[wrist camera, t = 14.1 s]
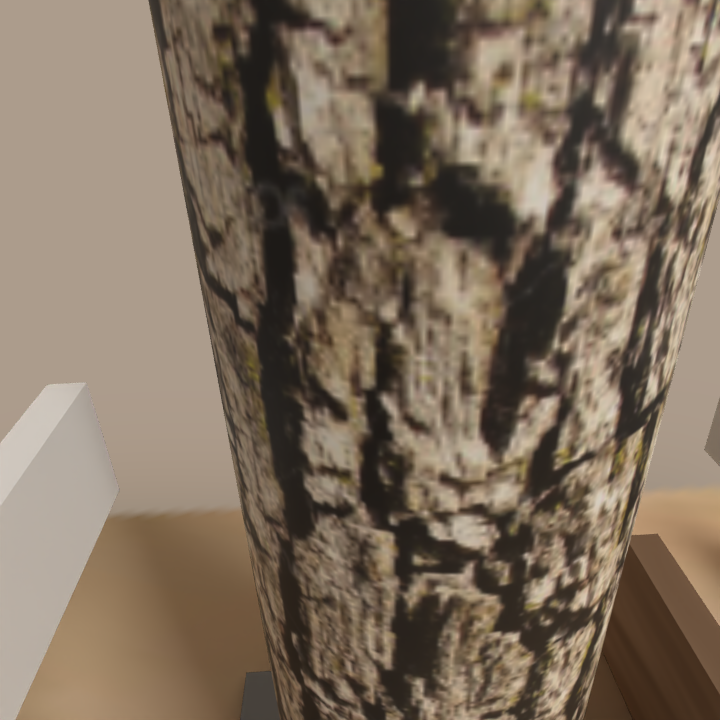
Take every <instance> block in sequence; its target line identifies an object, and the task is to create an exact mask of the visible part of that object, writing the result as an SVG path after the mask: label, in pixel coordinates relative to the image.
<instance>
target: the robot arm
mask: <svg viewBox="0 0 720 720" xmlns="http://www.w3.org/2000/svg"><path fill="white" fill-rule="evenodd" d="M704 450H705V451H706V452H707V453H708V454H709V455H710V456H711V457H712V458H713V459H714V461H715V462H716V463H717V464H718V465H719V466H720V399H719V402H718V405H717V409H716V412H715V415H714V419H713V422H712V426H711V429H710V432H709V436H708V439H707V442H706V446H705V449H704ZM119 490H120V489H119V486H118V483H117V480H116V476H115V473H114V470H113V467H112V463H111V460H110V457H109V454H108V450H107V447H106V444H105V440H104V437H103V434H102V431H101V427H100V424H99V421H98V418H97V414H96V411H95V408H94V405H93V402H92V398H91V395H90V392H89V388H88V385H87V383H86V382H84V383H67V384H51V385H47V386H46V387H45V388H44V389H43V391H42V392H41V393H40V395H39V396H38V397H37V398H36V399H35V401H34V402H33V403H32V404H31V406H30V407H29V408H28V409H27V411H26V412H25V413H24V414H23V415H22V417H21V418H20V419H19V420H18V422H17V423H16V424H15V425H14V427H13V428H12V429H11V430H10V432H9V433H8V434H7V435H6V437H5V438H4V439H3V440H2V442H1V443H0V720H16V717H17V715H18V713H19V711H20V709H21V706H22V704H23V702H24V700H25V698H26V695H27V693H28V691H29V689H30V687H31V684H32V682H33V680H34V678H35V676H36V673H37V671H38V669H39V667H40V665H41V662H42V660H43V658H44V656H45V654H46V651H47V649H48V647H49V645H50V643H51V640H52V638H53V636H54V634H55V632H56V629H57V627H58V625H59V623H60V620H61V618H62V616H63V614H64V612H65V609H66V607H67V605H68V603H69V601H70V598H71V596H72V594H73V592H74V590H75V587H76V585H77V583H78V581H79V579H80V576H81V574H82V572H83V570H84V568H85V565H86V563H87V561H88V559H89V557H90V554H91V552H92V550H93V548H94V546H95V543H96V541H97V539H98V537H99V535H100V532H101V530H102V528H103V526H104V524H105V521H106V519H107V517H108V515H109V512H110V510H111V508H112V506H113V503H114V501H115V499H116V497H117V495H118V492H119Z"/></svg>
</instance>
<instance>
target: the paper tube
mask: <svg viewBox="0 0 720 720" xmlns="http://www.w3.org/2000/svg"><path fill="white" fill-rule="evenodd" d="M149 5H150V11H151V15H152V22H153V27H154V33H155V38H156V43H157V49H158V55H159V60H160V65H161V70H162V76H163V82H164V87H165V92H166V98H167V103H168V109H169V115H170V120H171V125H172V131H173V137H174V142H175V148H176V153H177V158H178V163H179V169H180V175H181V180H182V186H183V191H184V197H185V202H186V208H187V213H188V218H189V224H190V230H191V234H192V240H193V246H194V251H195V257H196V262H197V268H198V273H199V278H200V284H201V290H202V295H203V301H204V306H205V312H206V317H207V322H208V328H209V333H210V339H211V344H212V349H213V355H214V361H215V366H216V371H217V377H218V383H219V388H220V394H221V399H222V404H223V410H224V416H225V421H226V426H227V431H228V437H229V443H230V448H231V454H232V459H233V464H234V470H235V475H236V480H237V486H238V492H239V498H240V502H241V509H242V514H243V519H244V525H245V530H246V536H247V541H248V547H249V552H250V558H251V563H252V569H253V574H254V580H255V585H256V591H257V596H258V601H259V607H260V612H261V618H262V623H263V629H264V634H265V640H266V645H267V651H268V656H269V662H270V667H271V673H272V678H273V684H274V689H275V694H276V700H277V705H278V711H279V716H280V720H583V719H584V716H585V712H586V708H587V704H588V700H589V696H590V693H591V689H592V685H593V681H594V677H595V673H596V670H597V666H598V662H599V658H600V654H601V650H602V646H603V643H604V639H605V635H606V631H607V627H608V623H609V620H610V616H611V612H612V608H613V604H614V600H615V597H616V593H617V589H618V585H619V581H620V577H621V574H622V570H623V566H624V562H625V558H626V554H627V551H628V547H629V543H630V539H631V535H632V531H633V527H634V524H635V520H636V516H637V512H638V508H639V504H640V501H641V497H642V493H643V489H644V485H645V481H646V477H647V474H648V470H649V466H650V462H651V458H652V454H653V451H654V447H655V443H656V439H657V435H658V431H659V428H660V423H661V420H662V416H663V412H664V408H665V405H666V400H667V397H668V393H669V389H670V385H671V382H672V378H673V374H674V370H675V366H676V362H677V359H678V355H679V350H680V347H681V343H682V339H683V336H684V331H685V328H686V324H687V320H688V316H689V312H690V309H691V305H692V301H693V297H694V293H695V289H696V286H697V282H698V278H699V274H700V270H701V266H702V263H703V259H704V255H705V251H706V247H707V243H708V240H709V235H710V232H711V228H712V224H713V220H714V216H715V213H716V209H717V205H718V201H719V197H720V0H149Z"/></svg>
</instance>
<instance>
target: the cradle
mask: <svg viewBox="0 0 720 720" xmlns="http://www.w3.org/2000/svg"><path fill="white" fill-rule="evenodd" d="M602 651H603V653H604V656H605V658H606V660H607V662H608V665H609V667H610V669H611V671H612V673H613V676H614V678H615V680H616V682H617V685H618V687H619V689H620V691H621V694H622V696H623V698H624V700H625V702H626V705H627V707H628V709H629V711H630V714H631V716H632V718H633V720H720V626H719V625H718V623H717V622H716V620H715V619H714V617H713V616H712V614H711V613H710V611H709V610H708V608H707V607H706V605H705V604H704V602H703V601H702V599H701V598H700V596H699V595H698V593H697V592H696V590H695V589H694V587H693V586H692V584H691V583H690V581H689V580H688V578H687V577H686V575H685V574H684V572H683V571H682V570H681V568H680V567H679V565H678V564H677V562H676V561H675V559H674V558H673V556H672V555H671V553H670V552H669V550H668V549H667V547H666V546H665V544H664V543H663V541H662V540H661V538H660V537H659V535H658V534H648V535H632V536H631V539H630V543H629V547H628V551H627V554H626V558H625V562H624V566H623V570H622V574H621V577H620V581H619V585H618V589H617V593H616V597H615V600H614V604H613V608H612V612H611V616H610V620H609V623H608V627H607V631H606V635H605V639H604V643H603V646H602Z"/></svg>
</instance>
